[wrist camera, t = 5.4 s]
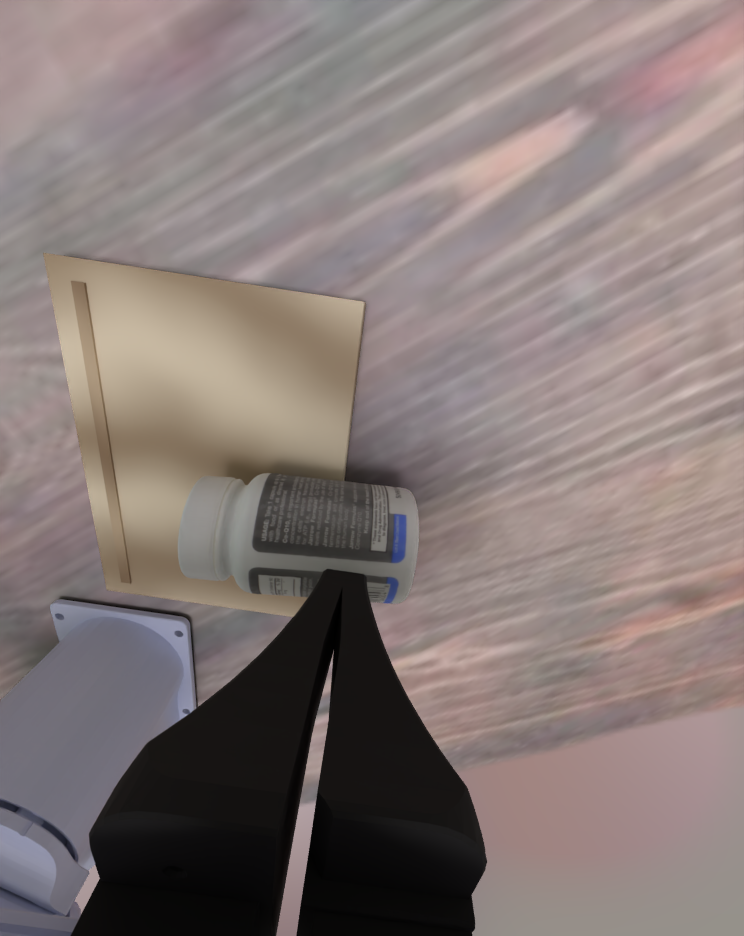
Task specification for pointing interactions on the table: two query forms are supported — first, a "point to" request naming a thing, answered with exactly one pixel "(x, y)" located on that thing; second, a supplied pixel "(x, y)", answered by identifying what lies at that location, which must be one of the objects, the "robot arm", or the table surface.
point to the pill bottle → (299, 534)
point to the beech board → (196, 404)
